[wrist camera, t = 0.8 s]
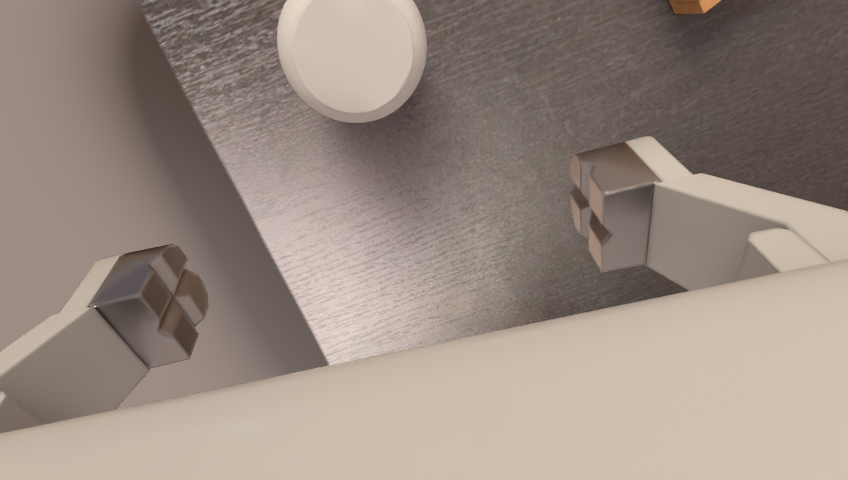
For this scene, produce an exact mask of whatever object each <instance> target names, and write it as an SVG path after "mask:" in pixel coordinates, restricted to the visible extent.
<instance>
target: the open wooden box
mask: <svg viewBox="0 0 848 480" xmlns="http://www.w3.org/2000/svg"><path fill="white" fill-rule="evenodd" d="M720 1H721V0H669V2H670V4H671V7H672V9H673V11H674V13H675V14H704V13H706V12H707V11H708V10H710V9H711V8H712V7H713V6H715V5H716V4H717V3H719V2H720Z"/></svg>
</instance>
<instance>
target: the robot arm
mask: <svg viewBox="0 0 848 480" xmlns="http://www.w3.org/2000/svg"><path fill="white" fill-rule="evenodd" d="M569 175H570V176H571V178H572V179H573V181H574V182H575V184H576V185H575V186H574V188H573V189H572V191H571V192H570V204H571V211H572V216H573V221H574V223H575V226H576V228H577V230H578V232H579V234H580V236H581V237H583V238H585V239H587V240H589V252H590V253H591V255H592V257H593V258H594V260H595V262H596V263H597V265H598V267H599V269H600V270H601V272H606V271H612V270H617V269H623V268H628V267H633V266H639V265H644V264H646V266H647V267H649V268H651V269H652V270H654V271H656V272H658V273H659V274H661V275H663V276H665V277H666V278H668V279H670V280H672V281H673V282H675V283H677V284H679V285H680V286H682V287H684V288H686V289H687V290H689V291H688V292H683V293H678V294H673V295H668V296H663V297H658V298H654V299H649V300H644V301H639V302H634V303H629V304H625V305H620V306H615V307H610V308H605V309H600V310H596V311H591V312H586V313H581V314H576V315H571V316H567V317H562V318H557V319H552V320H547V321H542V322H538V323H533V324H528V325H523V326H518V327H513V328H509V329H504V330H499V331H494V332H489V333H484V334H480V335H475V336H470V337H465V338H460V339H455V340H450V341H446V342H441V343H436V344H431V345H426V346H421V347H417V348H412V349H407V350H402V351H397V352H392V353H388V354H383V355H378V356H373V357H368V358H363V359H359V360H354V361H349V362H344V363H339V364H334V365H329V366H325V367H321V368H315V369H310V370H305V371H301V372H296V373H291V374H286V375H281V376H277V377H272V378H267V379H262V380H258V381H252V382H248V383H242V384H237V385H233V386H228V387H223V388H218V389H213V390H208V391H203V392H199V393H194V394H189V395H184V396H179V397H175V398H170V399H165V400H160V401H155V402H150V403H145V404H140V405H136V406H131V407H126V408H121V409H117V407H118V406H119V405H120V404H121V403H122V402H123V401H124V399H125V398H126V397H127V396H128V395H129V394H130V393H131V391H132V390H133V389H134V388H135V387H136V386H137V385H138V383H139V382H140V381H141V380H142V379H143V378H144V377H145V375H146V374H147V373H148V372H149V371H150V370H149V369H150V368H154V367H159V366H163V365H167V364H171V363H175V362H179V361H183V360H188V359H190V356H191V354H192V351H193V348H194V346H195V343H196V340H197V337H198V335H199V333H198V332H197V330H196V329H195V326H197V325H198V324H199V323H200V322H201V321H202V320H203V319H204V318H205V315H206V312H207V309H208V293H207V290H206V288H205V285H204V283H203V281H202V280H201V278H200V277H199V275H198V274H196V273H194V272H192V271H190V270H188V269H186V267H187V262H188V258H187V257H186V256H185V254H184V253H183V251H182V250H181V249H180V247H178V246H175V245H173V244H170V245H165V246H160V247H155V248H150V249H145V250H140V251H135V252H130V253H127V254H120V255H115V256H111V257H108V258H104V259H101V260H98V261H96V263H95V264H94V265H93V267H92V269H91V270H90V272H89V273H88V274H87V275H86V277H85V278H84V280H83V281H82V283H81V284H80V285H79V287H78V288H77V290H76V291H75V292H74V294H73V295H72V297H71V298H70V300H69V301H68V302H67V304H66V305H65V307H64V308H63V310H62V311H61V312H60V314H56V315H52V316H51V317H49V318H48V319H46V320H45V321H43V322H42V323H40V324H39V325H38V326H36V327H35V328H33V329H32V330H31V331H29V332H28V333H26V334H25V335H24V336H22V337H21V338H19V339H18V340H17V341H15V342H14V343H12V344H11V345H9V346H8V347H7V348H5V349H4V350H2V351H1V352H0V480H848V211H845V210H841V209H837V208H833V207H829V206H826V205H822V204H818V203H814V202H810V201H806V200H802V199H799V198H795V197H791V196H787V195H783V194H779V193H776V192H772V191H768V190H764V189H760V188H756V187H753V186H749V185H745V184H741V183H737V182H733V181H730V180H726V179H722V178H718V177H714V176H710V175H707V174H703V173H699V174H695V175H693V174H692V173H690V172H689V171H688V170H687V169H686V168H685V167H684V166H683V165H682V164H681V163H680V162H679V161H678V160H676V159H675V158H674V157H673V156H672V155H671V154H670V153H669V152H668V151H667V150H666V149H665V148H664V147H663V146H661V145H660V144H659V143H658V142H657V141H656V140H655V139H654V138H653V137H650V136H645V137H641V138H637V139H634V140H630V141H626V142H622V143H618V144H614V145H610V146H606V147H602V148H598V149H594V150H590V151H586V152H582V153H578V154H574V155H571V157H570V162H569ZM116 409H117V410H116Z"/></svg>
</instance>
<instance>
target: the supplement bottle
mask: <svg viewBox="0 0 848 480" xmlns="http://www.w3.org/2000/svg"><path fill="white" fill-rule="evenodd" d="M277 48H278V54H279V59H280V63H281V66H282V69H283V72H284V74H285V76H286V78H287V80H288V82H289V84H290V85H291V87H292V88H293V89H294V91H295V92H296V93H297V95H298V96H299V97H300V98H301V99H302V100H303V101H304V102H305V103H306V104H307V105H308V106H310V107H311V108H312V109H314V110H315V111H317V112H318V113H320V114H322V115H324V116H326V117H329V118H331V119H334V120H338V121H342V122H348V123H364V122H370V121H375V120H378V119H381V118H383V117H385V116H387V115H389V114H391V113H393V112H394V111H396V110H397V109H398V108H400V107H401V106H402V105H403V104H404V103H405V102H406V101H407V100H408V99H409V97H410V96H411V95H412V93H413V92H414V91H415V89H416V87H417V85H418V83H419V82H420V79H421V77H422V74H423V71H424V67H425V63H426V56H427V39H426V32H425V27H424V23H423V20H422V17H421V15H420V12H419V10H418V8H417V6H416V5H415V3H414V1H413V0H286V2H285V4H284V6H283V9H282V12H281V15H280V18H279V22H278V30H277Z"/></svg>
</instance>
